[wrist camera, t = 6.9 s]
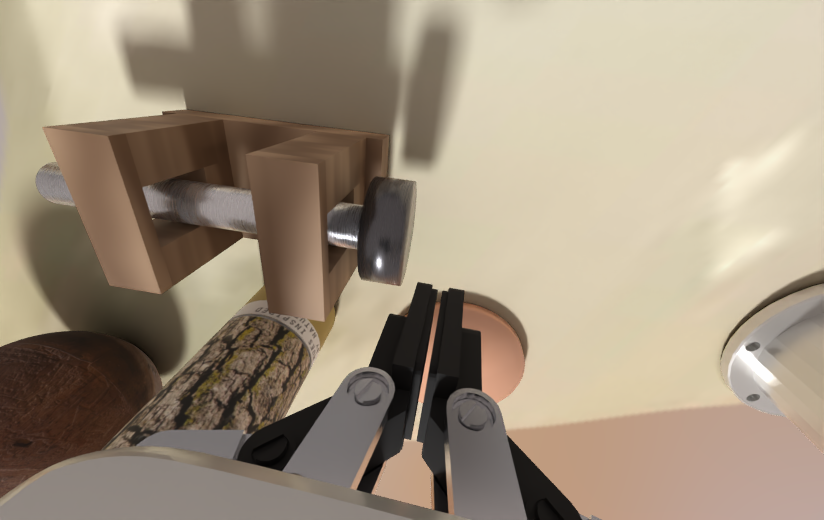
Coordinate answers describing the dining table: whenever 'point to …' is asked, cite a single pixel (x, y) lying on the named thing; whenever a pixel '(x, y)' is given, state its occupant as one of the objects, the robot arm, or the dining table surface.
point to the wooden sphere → (66, 398)
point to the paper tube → (235, 376)
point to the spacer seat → (488, 351)
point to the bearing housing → (230, 166)
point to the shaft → (233, 210)
